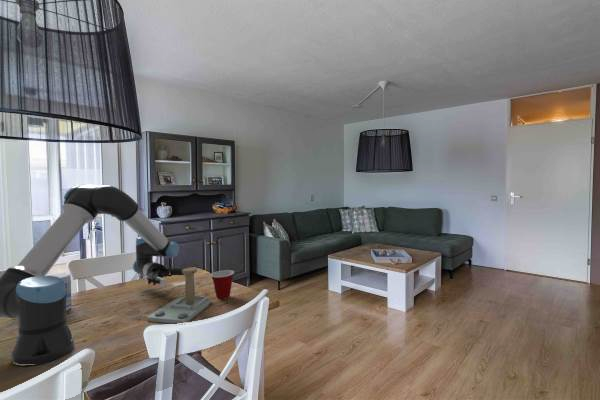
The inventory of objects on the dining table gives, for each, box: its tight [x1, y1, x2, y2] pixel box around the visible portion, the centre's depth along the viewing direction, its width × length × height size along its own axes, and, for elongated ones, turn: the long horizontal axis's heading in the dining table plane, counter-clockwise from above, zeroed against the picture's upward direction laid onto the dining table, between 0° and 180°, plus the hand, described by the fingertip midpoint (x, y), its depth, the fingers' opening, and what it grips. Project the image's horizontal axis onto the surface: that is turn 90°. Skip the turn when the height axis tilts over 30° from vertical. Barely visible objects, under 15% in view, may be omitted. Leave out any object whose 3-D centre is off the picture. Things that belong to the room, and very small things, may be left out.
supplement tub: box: [46, 272, 72, 312], centre depth 132 cm, size 10×10×15 cm
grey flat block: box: [146, 295, 213, 324], centre depth 132 cm, size 22×16×3 cm
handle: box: [182, 266, 198, 304], centre depth 136 cm, size 5×6×15 cm
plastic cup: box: [210, 269, 235, 300], centre depth 147 cm, size 11×11×12 cm
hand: (179, 279), depth 141 cm, fingers open, 13 cm apart
